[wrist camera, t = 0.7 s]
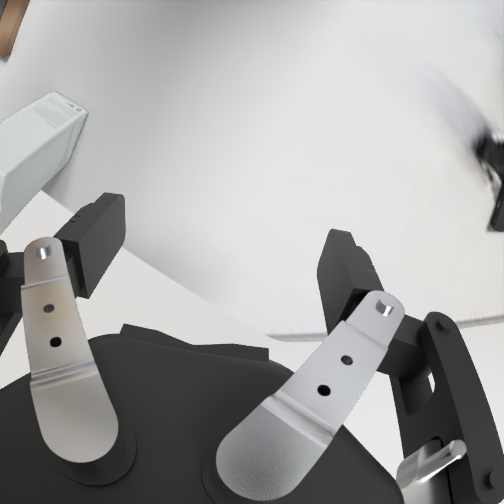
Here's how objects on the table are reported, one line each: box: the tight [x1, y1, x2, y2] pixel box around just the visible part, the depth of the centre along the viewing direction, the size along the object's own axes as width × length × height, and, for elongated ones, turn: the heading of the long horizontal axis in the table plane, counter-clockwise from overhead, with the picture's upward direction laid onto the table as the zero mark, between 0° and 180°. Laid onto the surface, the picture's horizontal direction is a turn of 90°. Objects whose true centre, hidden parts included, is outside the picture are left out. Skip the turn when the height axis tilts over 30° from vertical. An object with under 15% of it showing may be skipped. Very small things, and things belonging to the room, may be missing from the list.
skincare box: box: [0, 92, 88, 235], centre depth 25 cm, size 8×6×15 cm
